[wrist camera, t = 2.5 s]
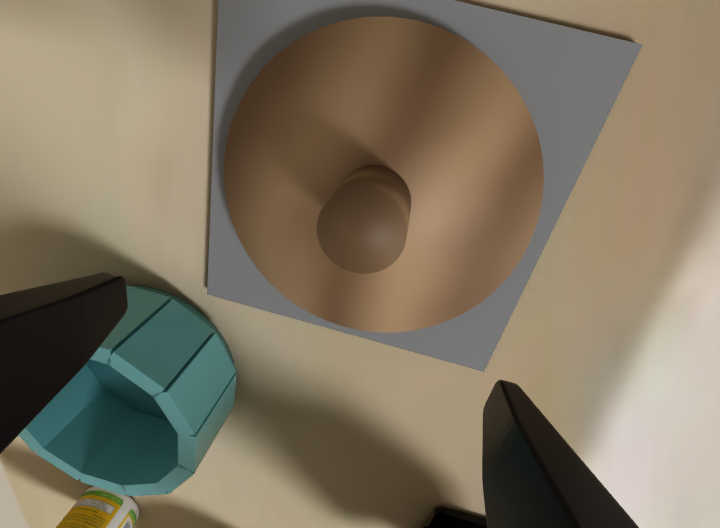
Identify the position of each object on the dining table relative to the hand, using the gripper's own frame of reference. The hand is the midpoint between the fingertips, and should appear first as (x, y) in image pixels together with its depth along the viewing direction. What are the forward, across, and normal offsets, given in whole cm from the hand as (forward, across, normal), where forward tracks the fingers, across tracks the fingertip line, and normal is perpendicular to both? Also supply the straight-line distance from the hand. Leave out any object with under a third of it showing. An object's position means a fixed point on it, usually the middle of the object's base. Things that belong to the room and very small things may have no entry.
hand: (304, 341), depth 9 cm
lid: (+12, 0, 0) cm, 12 cm away
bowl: (+12, +12, +15) cm, 22 cm away
